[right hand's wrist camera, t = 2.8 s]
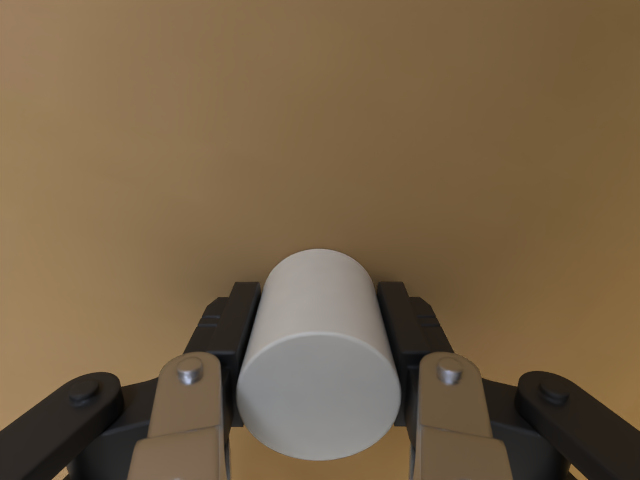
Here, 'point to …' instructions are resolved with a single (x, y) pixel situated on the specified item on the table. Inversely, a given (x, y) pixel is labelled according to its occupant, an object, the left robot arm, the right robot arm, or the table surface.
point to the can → (318, 361)
